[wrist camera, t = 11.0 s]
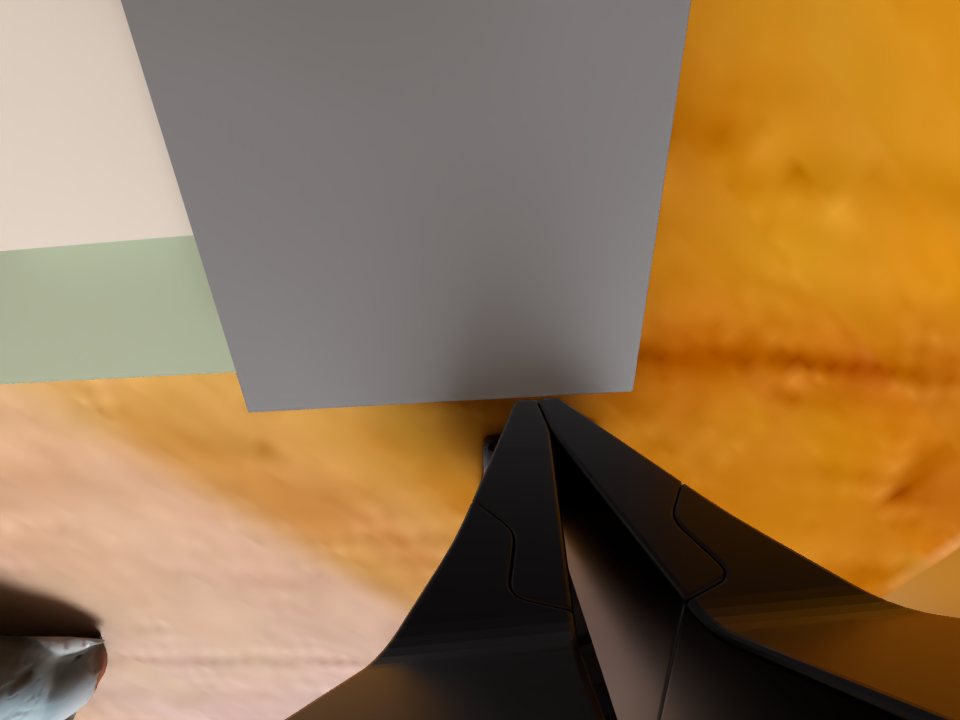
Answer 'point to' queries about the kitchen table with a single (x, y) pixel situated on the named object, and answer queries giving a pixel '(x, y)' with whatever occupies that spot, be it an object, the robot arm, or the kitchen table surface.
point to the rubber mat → (108, 312)
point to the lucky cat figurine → (48, 675)
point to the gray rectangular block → (419, 188)
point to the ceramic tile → (79, 131)
